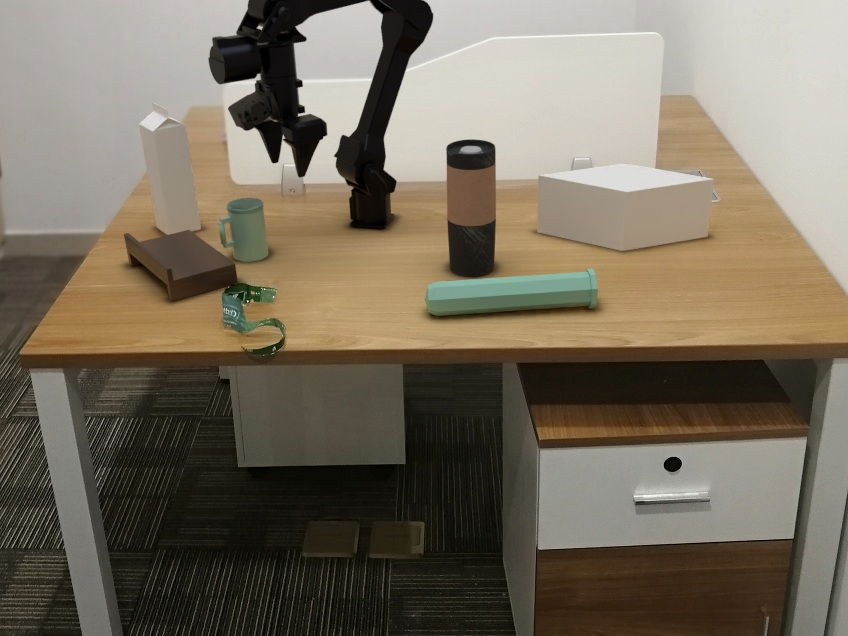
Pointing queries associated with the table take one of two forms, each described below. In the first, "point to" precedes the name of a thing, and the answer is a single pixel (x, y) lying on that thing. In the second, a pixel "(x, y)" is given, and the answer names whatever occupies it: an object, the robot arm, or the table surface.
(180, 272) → the shelf
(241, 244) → the green mug
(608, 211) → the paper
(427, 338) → the table surface
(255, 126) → the robot arm
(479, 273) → the travel mug
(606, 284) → the table surface
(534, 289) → the container
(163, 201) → the milk
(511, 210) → the table surface
